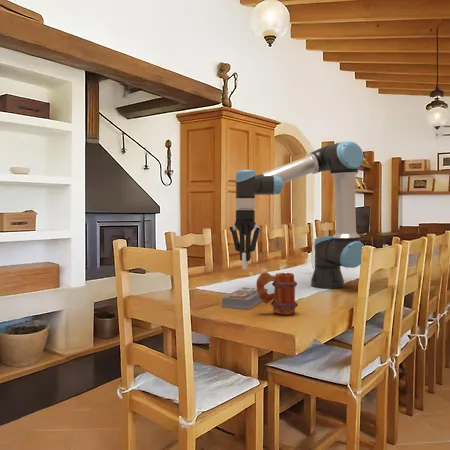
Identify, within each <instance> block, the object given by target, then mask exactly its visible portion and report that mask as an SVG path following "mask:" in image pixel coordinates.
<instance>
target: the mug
mask: <svg viewBox="0 0 450 450" xmlns="http://www.w3.org/2000/svg"><path fill="white" fill-rule="evenodd" d="M270 282H272V283H271V284H272V286H273V287H274V292H272V293H268V292H267V293H266V292H265V289H266V288H265V286H266V285H267V284H269V283H270ZM255 285H256V288H257V291H258V295H259V296H260V298H261V299H262V300H263V301H262V302H264V303H265V304H269V303H270V305H271V306H272V310H273V312H274V313H276V314H278V315H281V316H290V315H293V314H294V313H295V311H296V308H297V307H299V305H298V303H297V302H296V298H295V297H296V296H295V295H296V294H295V293H296V287H297V286H298V282H297V281H296V280H295V275H294V273H292V272H286V273H285V272H278V273H275V275H273V274H270V273H269V272H268V271H263V272H261V273H260V274H259V276H258V278H257V279H256V284H255Z"/></svg>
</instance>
